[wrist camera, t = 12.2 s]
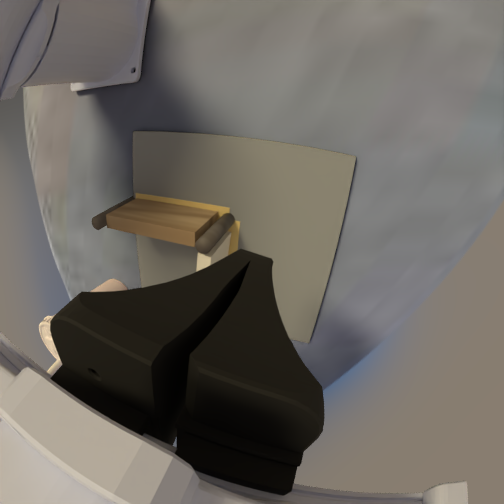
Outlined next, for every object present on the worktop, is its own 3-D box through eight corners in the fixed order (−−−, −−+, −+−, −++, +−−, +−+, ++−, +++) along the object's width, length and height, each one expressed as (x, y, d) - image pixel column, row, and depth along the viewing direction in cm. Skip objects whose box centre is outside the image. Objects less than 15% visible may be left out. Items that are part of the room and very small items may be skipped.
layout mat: (135, 131, 20) (132, 131, 20) (355, 156, 17) (356, 157, 17) (144, 297, 28) (142, 299, 27) (309, 340, 25) (308, 343, 24)
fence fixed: (130, 195, 23) (90, 215, 18) (236, 212, 21) (211, 240, 17) (130, 206, 23) (92, 228, 19) (235, 225, 22) (210, 255, 17)
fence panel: (219, 229, 21) (197, 253, 18) (231, 232, 21) (211, 257, 18) (210, 311, 25) (192, 341, 22) (220, 314, 25) (203, 344, 22)
